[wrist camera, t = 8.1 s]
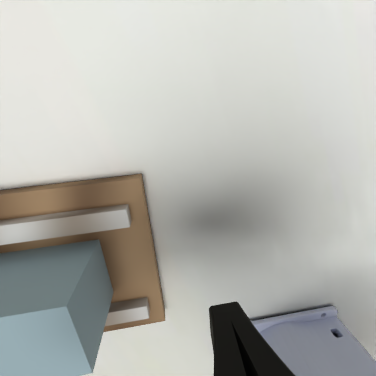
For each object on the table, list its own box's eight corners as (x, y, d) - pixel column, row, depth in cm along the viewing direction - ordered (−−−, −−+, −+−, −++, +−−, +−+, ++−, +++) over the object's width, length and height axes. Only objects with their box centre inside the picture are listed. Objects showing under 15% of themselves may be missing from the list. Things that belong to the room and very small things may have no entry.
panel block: (98, 239, 13) (66, 306, 9) (113, 292, 15) (92, 373, 10) (-18, 255, 13) (-121, 337, 8) (10, 309, 14) (-63, 403, 10)
